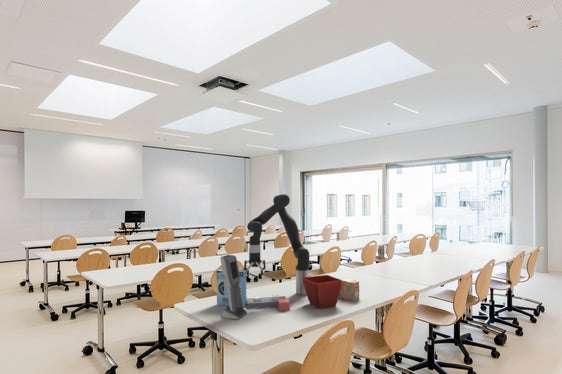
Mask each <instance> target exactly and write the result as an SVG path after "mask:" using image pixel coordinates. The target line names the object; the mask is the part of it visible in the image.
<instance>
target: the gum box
mask: <svg viewBox="0 0 562 374" xmlns="http://www.w3.org/2000/svg"><path fill="white" fill-rule="evenodd" d="M215 273H216V305H217V306H224V307H228V306H229V301H228V295H227V286H226V282H225V281H224V279H225V278H224V274H223V270H222V269H221V268H218V269H217V270H216V271H215ZM239 273H240V277H241V282H240V284H239V289H240V294H241V299H242V304H243V308H245V307H247V298H248V297H247V270H244V269H239Z"/></svg>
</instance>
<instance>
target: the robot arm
mask: <svg viewBox="0 0 562 374" xmlns="http://www.w3.org/2000/svg"><path fill="white" fill-rule="evenodd" d="M272 202H273V204H272V205H270V206H269V207H268V208H267V209H265V210H263V211H262V212H261V213H260V214H259V215H258V216H256V217H254V218H253V219H251V220H250V221H249V222H248V223H247V226H246V227H247V230H248V232H251V233H253V234H252V235H251V236H249V246H248V247H249V248H248V255H249V256H248V258H249V259H248V260H246V259H245V260H244V262H243V264H244V265H243V270H246V277H250V269H251V268H259V269H260V277H263V275H264V270H266V269H267V268H266V260H265V259H263V260H261V252H262V251H261V236H262V232H263V225H265V224H267V223H268V222H269V221H270V220H271V219H272V217H274V216H276V214H278V215H279V218H280V221H281V222H282V225H283V228H284V230H285V233H286V235H287V238H288V240H289V242H290V245H291V247H292V251H293V255H294V257H295V259H297V264H296V266H295V291H296V292H295V294H297V295H299V296H301V295H302V296H304V295H305V296H307V294H306V291H305V287H304V282H303V278H304V277H309V267H310V252H309V250H308V249H307V248H305V247H303V244H302V243H301V239H300V231H299V228H298V225H297V222H296V220H295V219H294V218H293V217H292V216H291V215H290V214H289V213H288V211H287V209H286V207H288V206H289V205H290V202H291V199H290V196H289V195H288V194H286V193H282V194H278V195H275V196H274V197H273V200H272ZM248 264H249V266H248V267H247V265H248ZM261 264H263V267H262V265H261Z"/></svg>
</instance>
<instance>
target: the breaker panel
mask: <svg viewBox="0 0 562 374" xmlns="http://www.w3.org/2000/svg"><path fill="white" fill-rule="evenodd" d="M279 297H280V299H286V298H287V297H286V296H285V295H281V296H280V295H279ZM246 307H247V309H261V308H274V307H277V300H275V301H273V299H272V296H266V297H265V296H264V297H261V301H259V302H255V300H254V297H250V298H248V297H247V305H246ZM277 308H278V307H277Z"/></svg>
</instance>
